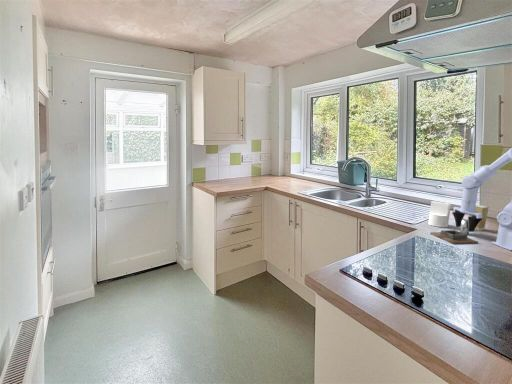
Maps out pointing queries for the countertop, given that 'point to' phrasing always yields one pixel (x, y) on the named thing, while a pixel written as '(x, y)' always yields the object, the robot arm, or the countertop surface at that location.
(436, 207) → the cylinder with rectangular tab
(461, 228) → the clear glass cylinder
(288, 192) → the countertop surface
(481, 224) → the skincare box
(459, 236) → the dock
